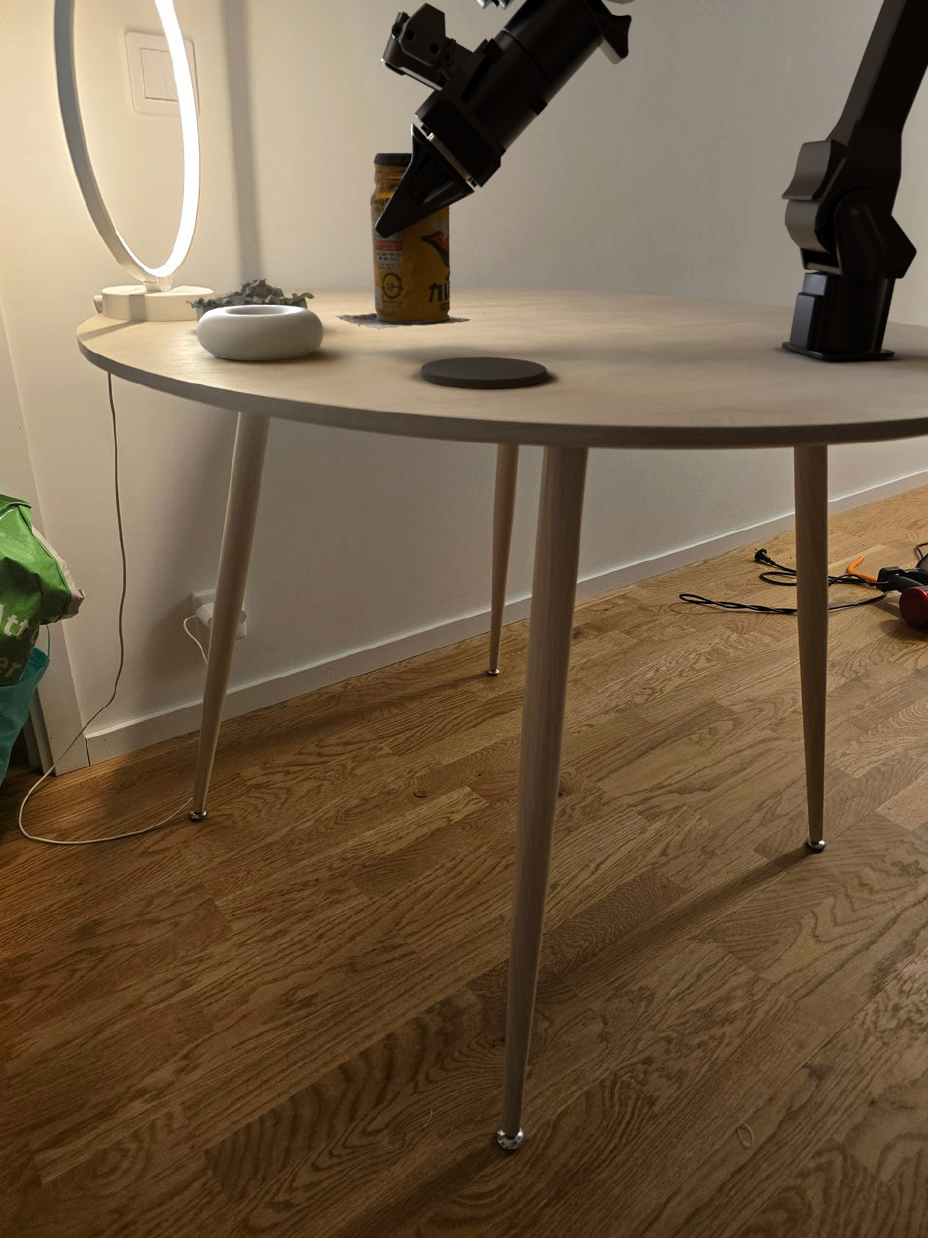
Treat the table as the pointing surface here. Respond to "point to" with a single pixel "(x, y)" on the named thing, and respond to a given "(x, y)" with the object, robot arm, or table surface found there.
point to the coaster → (483, 372)
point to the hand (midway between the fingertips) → (381, 231)
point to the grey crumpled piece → (250, 298)
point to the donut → (259, 332)
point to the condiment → (407, 260)
